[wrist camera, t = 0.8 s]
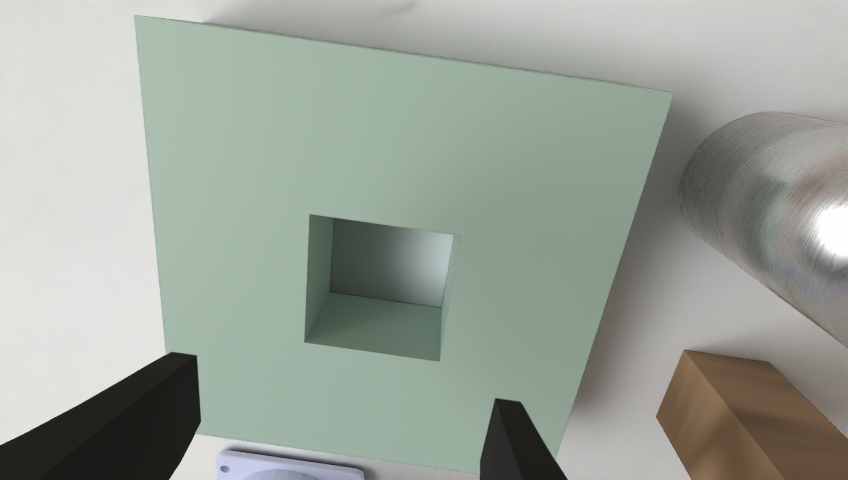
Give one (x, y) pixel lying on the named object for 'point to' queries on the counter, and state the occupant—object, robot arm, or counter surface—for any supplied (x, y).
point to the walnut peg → (747, 423)
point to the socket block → (388, 205)
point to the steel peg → (778, 208)
